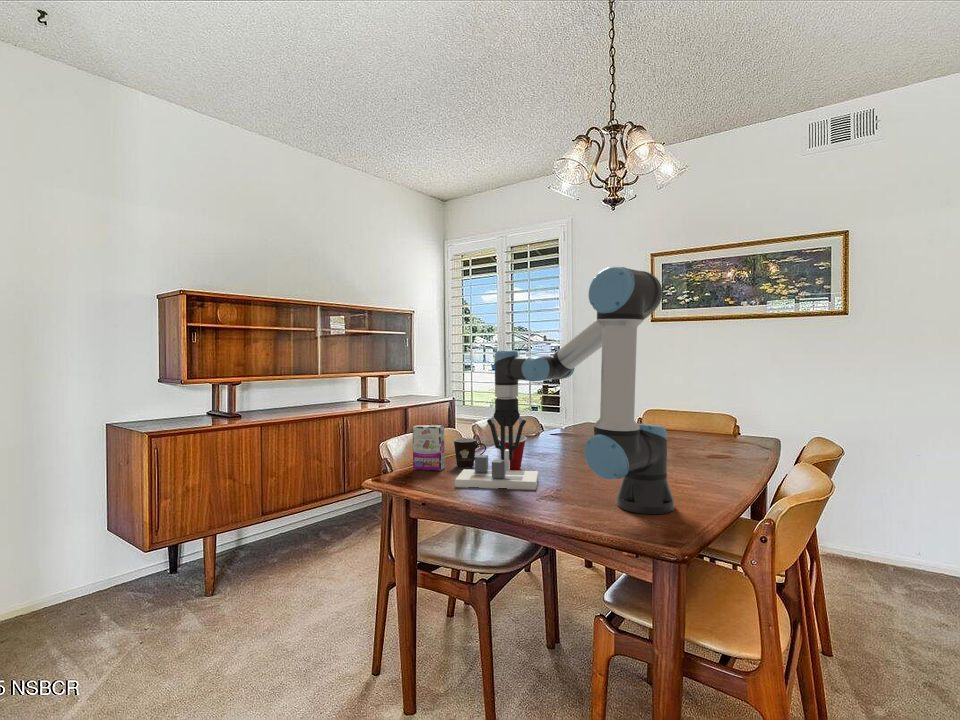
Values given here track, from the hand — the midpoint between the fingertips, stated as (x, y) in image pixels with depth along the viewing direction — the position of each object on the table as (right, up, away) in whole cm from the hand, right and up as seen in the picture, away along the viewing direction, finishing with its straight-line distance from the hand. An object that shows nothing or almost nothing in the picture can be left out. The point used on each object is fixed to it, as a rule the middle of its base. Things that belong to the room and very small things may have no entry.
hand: (507, 470), depth 162 cm
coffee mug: (-13, -5, +28) cm, 31 cm away
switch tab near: (-3, -2, 0) cm, 3 cm away
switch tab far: (-8, -2, +8) cm, 12 cm away
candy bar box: (-28, -5, +24) cm, 37 cm away
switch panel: (-3, -5, +4) cm, 7 cm away
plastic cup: (+3, -5, +23) cm, 24 cm away
